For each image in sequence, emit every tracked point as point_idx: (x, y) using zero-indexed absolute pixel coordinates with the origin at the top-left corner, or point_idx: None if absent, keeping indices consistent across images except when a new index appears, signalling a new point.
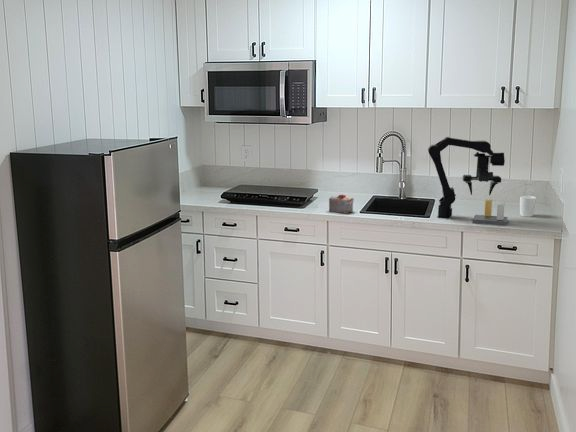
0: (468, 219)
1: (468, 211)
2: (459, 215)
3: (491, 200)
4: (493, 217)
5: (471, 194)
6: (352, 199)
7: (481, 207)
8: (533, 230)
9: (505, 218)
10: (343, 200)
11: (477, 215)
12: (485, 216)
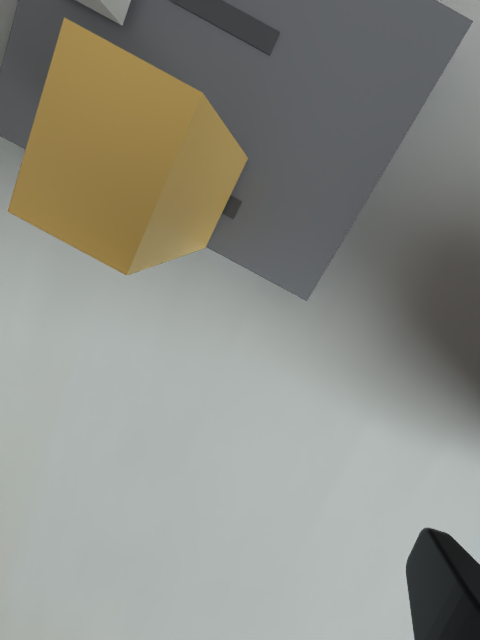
0: (398, 254)
1: (251, 554)
2: (406, 438)
3: (37, 144)
4: None
5: (437, 531)
6: None
7: (102, 637)
8: None
9: (27, 37)
10: None
11: (300, 252)
12: None
